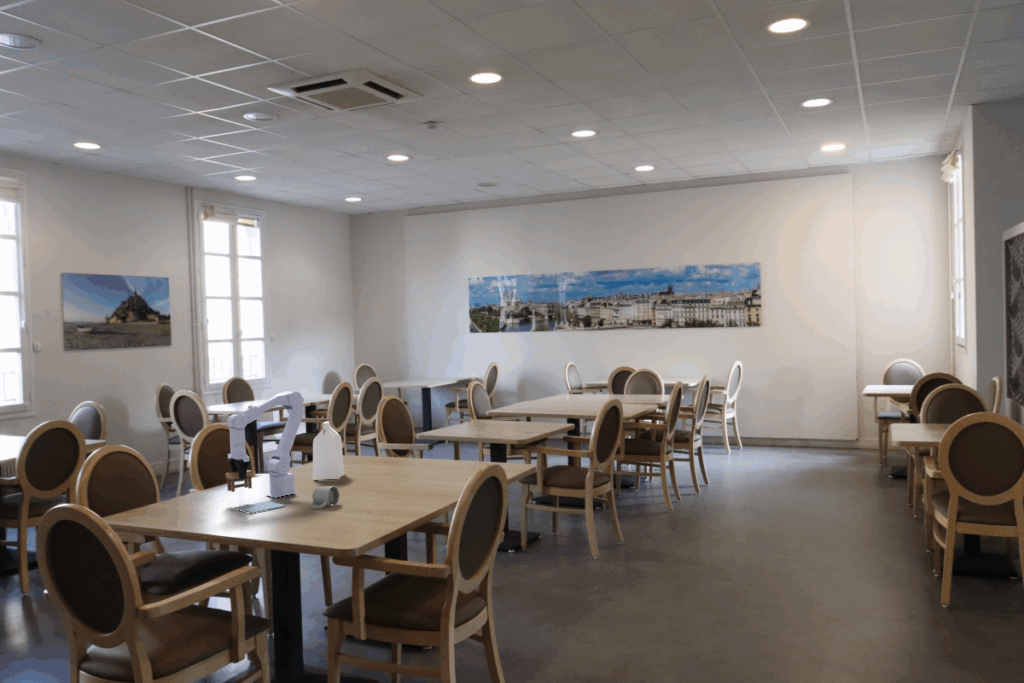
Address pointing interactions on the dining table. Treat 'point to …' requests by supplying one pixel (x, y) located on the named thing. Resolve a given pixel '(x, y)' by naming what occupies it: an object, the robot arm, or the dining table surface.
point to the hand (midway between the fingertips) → (239, 477)
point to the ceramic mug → (325, 497)
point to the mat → (259, 507)
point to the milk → (327, 454)
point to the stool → (235, 475)
